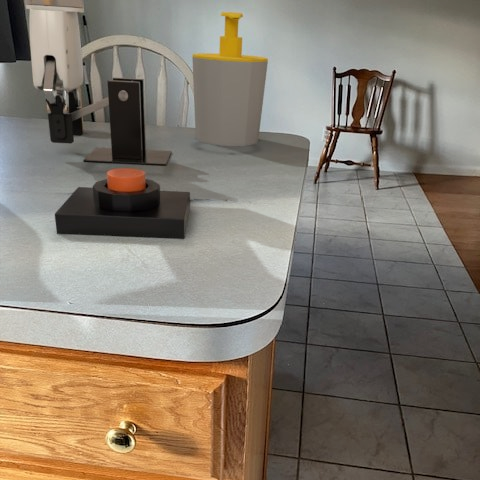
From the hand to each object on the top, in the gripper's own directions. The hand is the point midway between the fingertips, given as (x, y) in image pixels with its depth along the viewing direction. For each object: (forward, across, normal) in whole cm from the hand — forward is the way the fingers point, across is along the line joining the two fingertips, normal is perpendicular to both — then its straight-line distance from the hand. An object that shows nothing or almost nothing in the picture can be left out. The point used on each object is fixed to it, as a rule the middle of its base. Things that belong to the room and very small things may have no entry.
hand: (67, 137), depth 81 cm
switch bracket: (+3, 0, +9) cm, 10 cm away
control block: (+3, +27, +13) cm, 30 cm away
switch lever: (-4, 0, +5) cm, 6 cm away
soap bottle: (+3, -18, +24) cm, 30 cm away
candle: (+4, -23, -6) cm, 24 cm away
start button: (0, +27, +13) cm, 30 cm away
